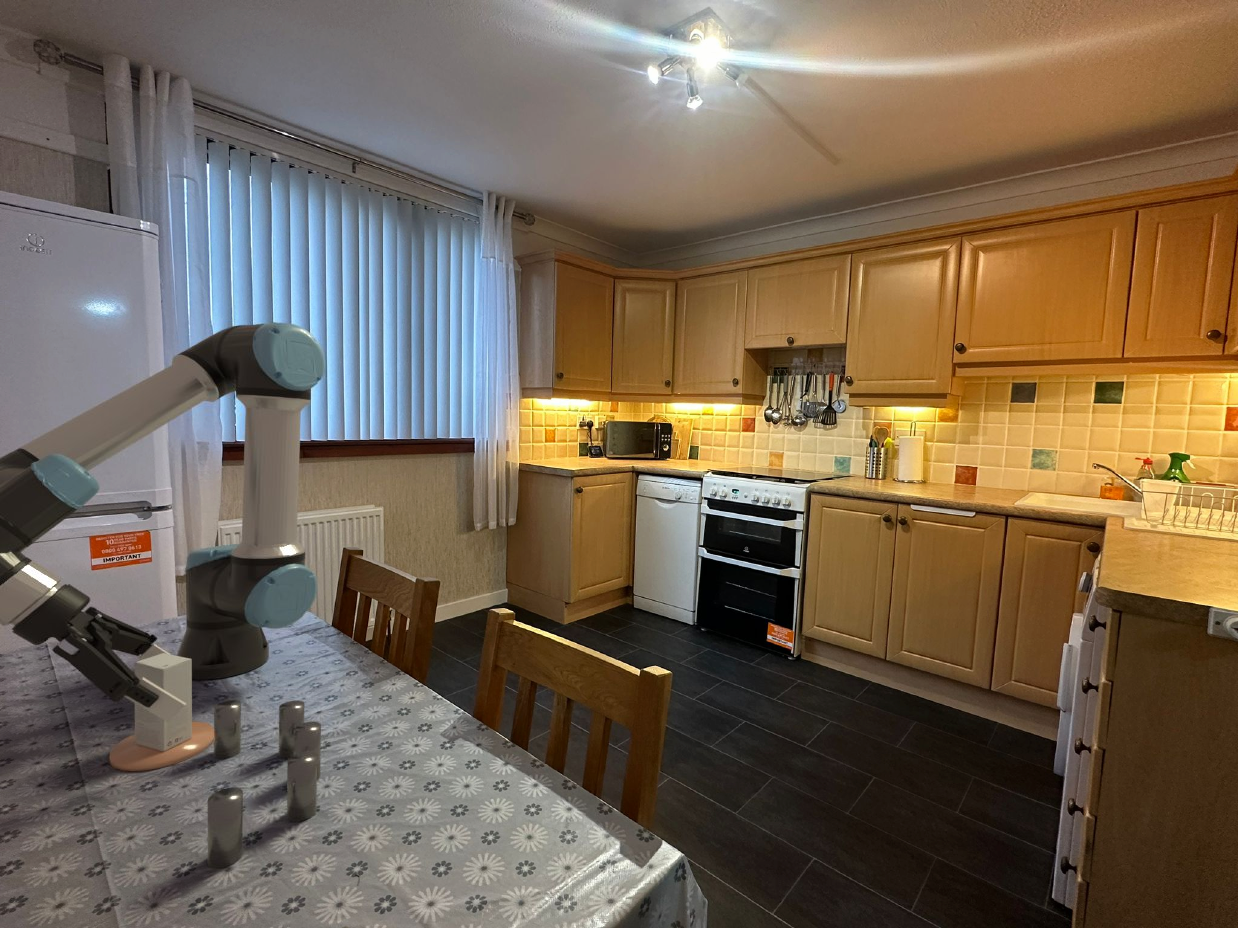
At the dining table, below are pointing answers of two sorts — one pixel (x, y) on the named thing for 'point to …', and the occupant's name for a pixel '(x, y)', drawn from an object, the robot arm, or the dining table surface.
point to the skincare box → (176, 681)
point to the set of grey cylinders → (227, 804)
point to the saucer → (147, 758)
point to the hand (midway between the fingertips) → (180, 692)
